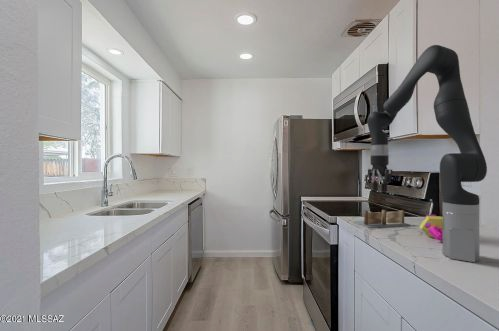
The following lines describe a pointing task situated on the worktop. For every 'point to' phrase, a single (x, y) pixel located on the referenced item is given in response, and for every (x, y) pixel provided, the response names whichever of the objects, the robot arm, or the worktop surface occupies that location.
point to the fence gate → (372, 218)
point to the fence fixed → (393, 217)
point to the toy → (433, 226)
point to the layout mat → (380, 224)
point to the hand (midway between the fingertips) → (379, 191)
